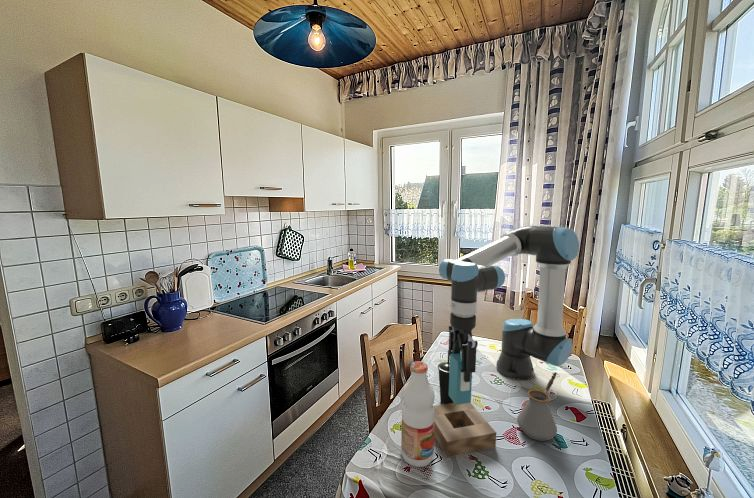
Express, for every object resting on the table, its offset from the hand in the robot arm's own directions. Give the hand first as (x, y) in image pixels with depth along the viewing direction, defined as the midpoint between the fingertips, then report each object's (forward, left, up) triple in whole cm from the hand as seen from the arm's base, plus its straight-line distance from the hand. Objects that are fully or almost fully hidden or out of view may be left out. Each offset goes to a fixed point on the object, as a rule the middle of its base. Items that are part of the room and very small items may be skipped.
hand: (460, 384), depth 97 cm
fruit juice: (+16, +5, -17) cm, 24 cm away
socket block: (0, 0, -17) cm, 17 cm away
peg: (0, 0, -5) cm, 5 cm away
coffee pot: (-29, +3, -17) cm, 34 cm away
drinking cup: (-4, -16, -17) cm, 24 cm away
